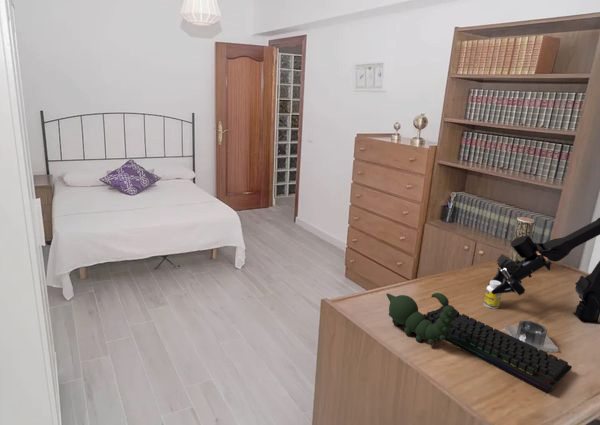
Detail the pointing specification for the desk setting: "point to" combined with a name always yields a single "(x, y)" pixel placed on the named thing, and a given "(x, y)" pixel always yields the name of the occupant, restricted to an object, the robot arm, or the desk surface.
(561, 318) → the desk surface
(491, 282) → the supplement bottle
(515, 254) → the bark textured cylinder
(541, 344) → the cup bracket
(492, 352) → the keyboard
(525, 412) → the desk surface
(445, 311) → the toy figurine
